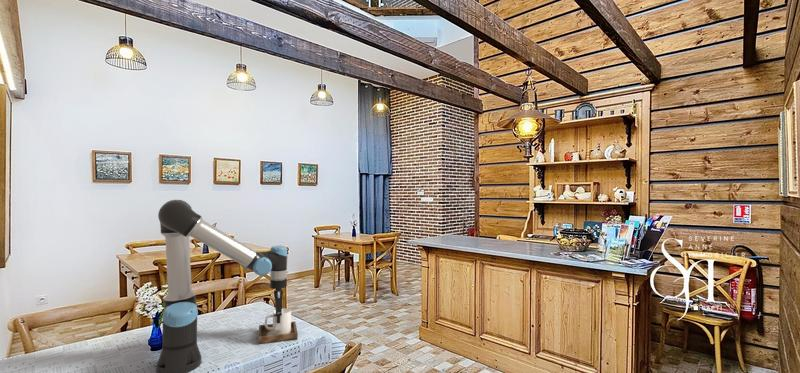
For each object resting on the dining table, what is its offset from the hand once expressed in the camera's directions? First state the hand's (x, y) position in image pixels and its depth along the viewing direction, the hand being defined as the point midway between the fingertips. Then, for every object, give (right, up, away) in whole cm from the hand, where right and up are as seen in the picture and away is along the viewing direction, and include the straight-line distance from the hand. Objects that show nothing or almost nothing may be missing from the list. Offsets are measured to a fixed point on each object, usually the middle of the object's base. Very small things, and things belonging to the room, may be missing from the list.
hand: (277, 325), depth 175 cm
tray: (0, -5, 0) cm, 5 cm away
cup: (0, -4, 0) cm, 4 cm away
